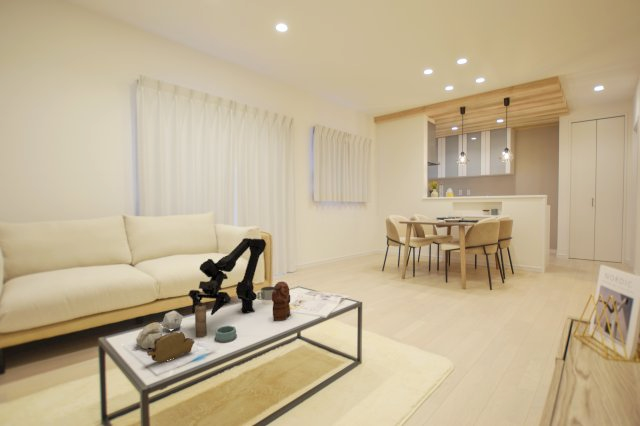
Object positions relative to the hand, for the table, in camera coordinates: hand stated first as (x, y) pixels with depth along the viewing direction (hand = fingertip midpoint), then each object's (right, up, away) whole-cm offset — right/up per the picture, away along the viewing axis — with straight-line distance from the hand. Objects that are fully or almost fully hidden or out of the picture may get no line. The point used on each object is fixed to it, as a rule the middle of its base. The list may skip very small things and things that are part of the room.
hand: (202, 314), depth 141 cm
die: (-16, -9, +7) cm, 19 cm away
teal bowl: (+11, -9, -3) cm, 15 cm away
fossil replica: (-18, -10, -9) cm, 22 cm away
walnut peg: (0, -9, -1) cm, 9 cm away
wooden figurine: (+33, -8, +20) cm, 39 cm away
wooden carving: (-4, -10, -21) cm, 24 cm away
